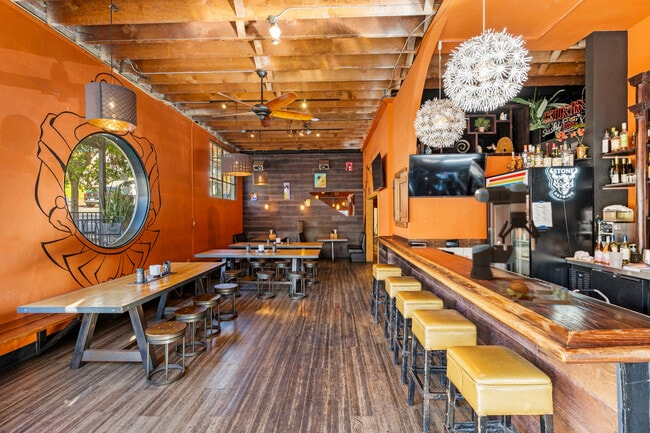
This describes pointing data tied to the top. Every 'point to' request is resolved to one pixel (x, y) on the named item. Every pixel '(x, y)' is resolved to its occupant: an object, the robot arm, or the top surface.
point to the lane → (559, 293)
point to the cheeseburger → (518, 289)
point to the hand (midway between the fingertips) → (519, 250)
